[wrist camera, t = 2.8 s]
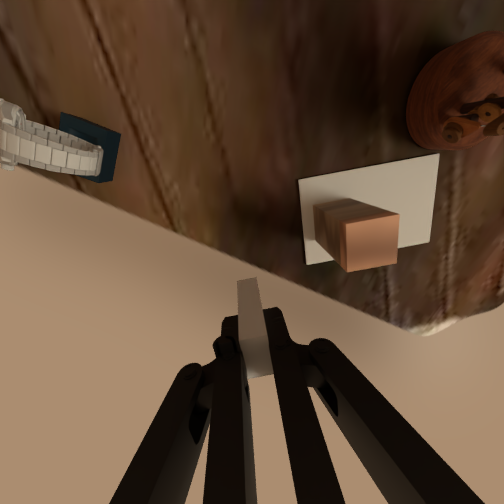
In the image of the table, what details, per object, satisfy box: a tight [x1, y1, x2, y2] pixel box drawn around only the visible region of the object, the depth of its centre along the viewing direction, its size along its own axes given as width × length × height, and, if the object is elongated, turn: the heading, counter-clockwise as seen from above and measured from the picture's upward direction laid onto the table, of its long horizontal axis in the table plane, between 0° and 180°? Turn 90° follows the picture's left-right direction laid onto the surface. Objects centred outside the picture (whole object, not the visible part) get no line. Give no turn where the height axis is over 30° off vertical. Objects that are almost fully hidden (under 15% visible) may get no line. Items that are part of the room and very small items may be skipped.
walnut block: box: [313, 198, 400, 272], centre depth 27 cm, size 5×5×10 cm
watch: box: [0, 98, 121, 183], centre depth 22 cm, size 6×8×11 cm
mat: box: [298, 154, 439, 265], centre depth 32 cm, size 12×18×1 cm, turn 100°
